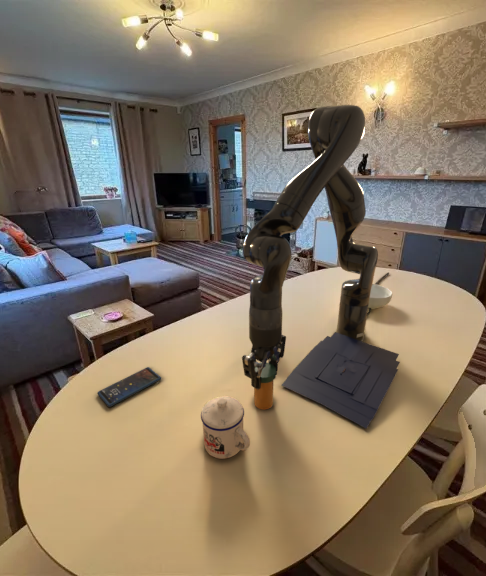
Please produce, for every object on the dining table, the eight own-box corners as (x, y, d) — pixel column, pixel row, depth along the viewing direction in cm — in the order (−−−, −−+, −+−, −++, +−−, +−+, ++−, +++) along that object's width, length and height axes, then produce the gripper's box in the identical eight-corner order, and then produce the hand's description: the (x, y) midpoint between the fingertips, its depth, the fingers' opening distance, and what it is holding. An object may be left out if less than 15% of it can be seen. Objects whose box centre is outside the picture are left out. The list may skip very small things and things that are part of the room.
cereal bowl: (393, 302, 134) (395, 287, 132) (385, 317, 121) (388, 301, 119) (354, 294, 143) (356, 280, 140) (343, 307, 130) (344, 292, 127)
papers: (404, 363, 92) (406, 354, 90) (366, 437, 72) (368, 426, 70) (329, 336, 106) (330, 328, 104) (280, 392, 86) (280, 382, 84)
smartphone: (161, 377, 87) (108, 406, 77) (162, 379, 87) (109, 408, 77) (148, 366, 92) (96, 391, 81) (148, 368, 92) (96, 394, 82)
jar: (262, 393, 82) (262, 362, 78) (276, 401, 79) (277, 370, 75) (250, 403, 79) (250, 371, 75) (265, 412, 76) (265, 380, 72)
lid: (262, 364, 80) (262, 359, 79) (280, 374, 76) (280, 368, 75) (246, 376, 75) (246, 370, 75) (265, 386, 72) (265, 380, 71)
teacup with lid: (194, 443, 68) (190, 402, 63) (225, 419, 74) (223, 380, 69) (233, 478, 60) (231, 434, 56) (263, 448, 67) (263, 406, 62)
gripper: (258, 339, 62) (257, 404, 69) (297, 314, 72) (293, 372, 79) (231, 327, 67) (233, 389, 73) (271, 305, 77) (270, 361, 83)
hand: (264, 380), depth 76 cm, fingers closed on lid, 6 cm apart
